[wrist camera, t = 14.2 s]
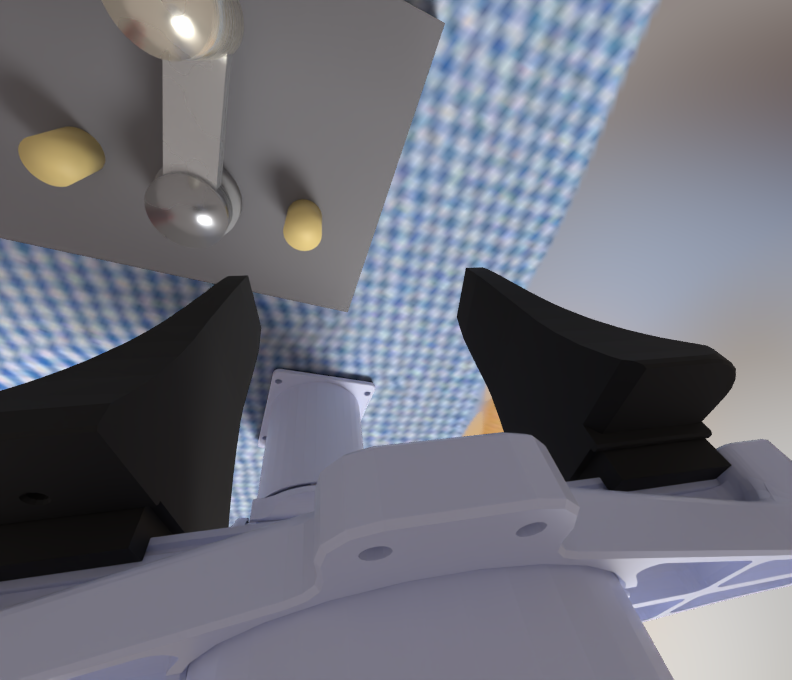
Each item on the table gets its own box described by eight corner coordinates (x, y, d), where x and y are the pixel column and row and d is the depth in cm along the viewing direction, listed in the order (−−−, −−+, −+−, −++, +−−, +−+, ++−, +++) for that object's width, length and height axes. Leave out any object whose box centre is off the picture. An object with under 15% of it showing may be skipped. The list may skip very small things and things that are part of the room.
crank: (229, 245, 18) (204, 293, 14) (156, 226, 17) (109, 273, 13) (257, -11, 12) (228, -39, 9) (151, -65, 11) (68, -122, 8)
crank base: (346, 303, 24) (349, 333, 21) (-28, 220, 17) (-89, 249, 15) (439, 24, 15) (461, 18, 13) (-215, -333, 9) (-428, -486, 6)
